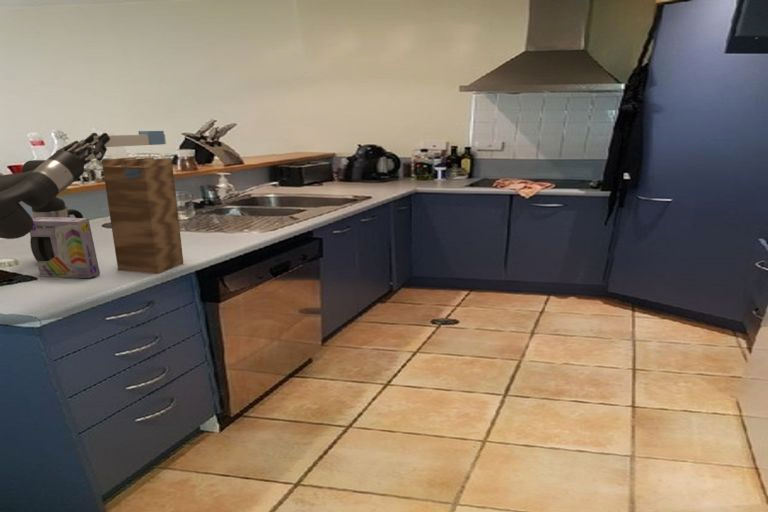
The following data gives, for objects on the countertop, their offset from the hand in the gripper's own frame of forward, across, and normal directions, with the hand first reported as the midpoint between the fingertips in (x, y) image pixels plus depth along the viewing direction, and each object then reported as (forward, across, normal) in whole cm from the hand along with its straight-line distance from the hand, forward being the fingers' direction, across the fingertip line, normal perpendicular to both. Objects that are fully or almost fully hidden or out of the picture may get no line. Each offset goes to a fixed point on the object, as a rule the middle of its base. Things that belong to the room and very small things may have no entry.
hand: (101, 136), depth 136 cm
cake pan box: (-20, +21, +36) cm, 47 cm away
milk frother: (+6, +59, +51) cm, 78 cm away
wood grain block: (-7, +4, +43) cm, 44 cm away
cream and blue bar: (+8, 0, +8) cm, 11 cm away
